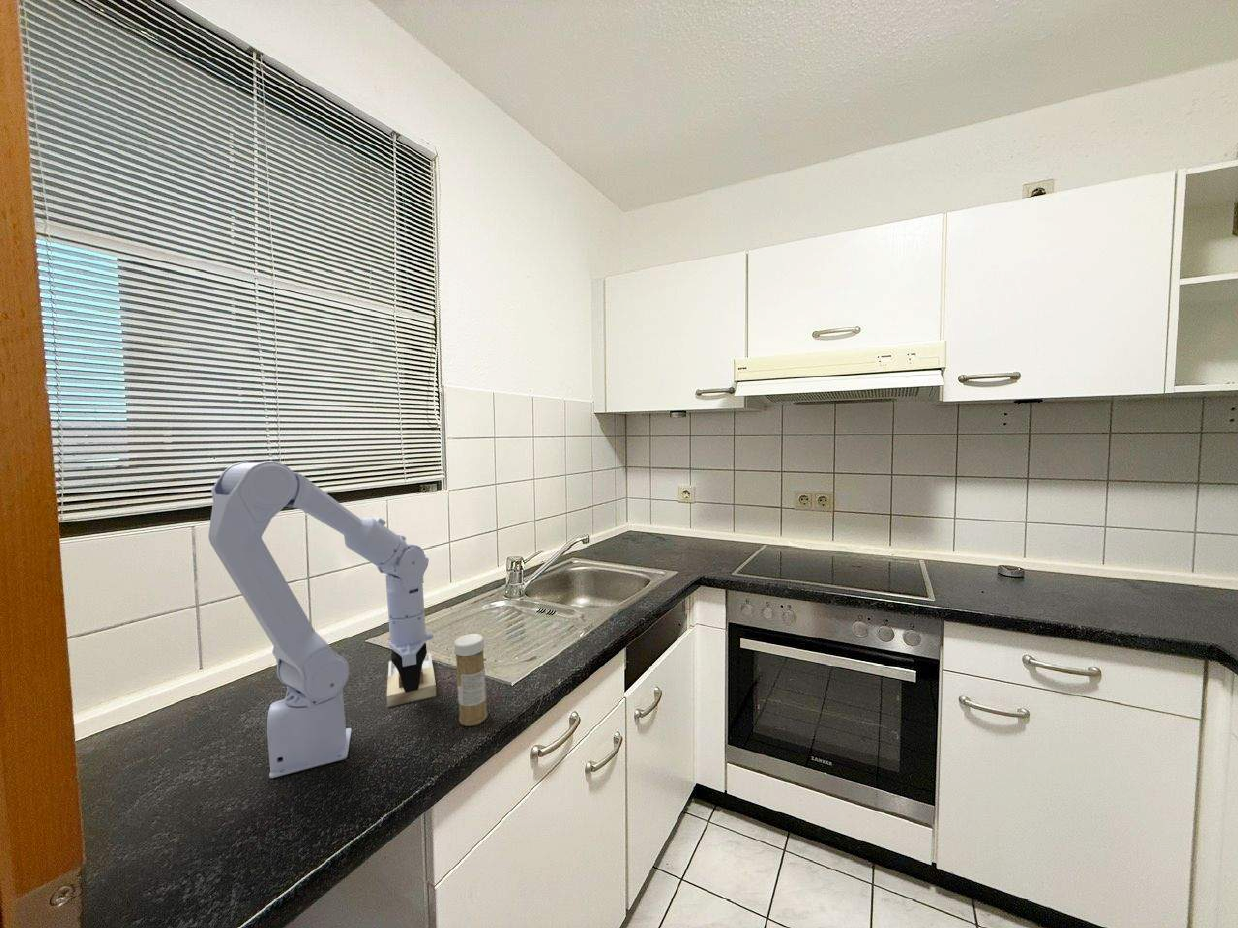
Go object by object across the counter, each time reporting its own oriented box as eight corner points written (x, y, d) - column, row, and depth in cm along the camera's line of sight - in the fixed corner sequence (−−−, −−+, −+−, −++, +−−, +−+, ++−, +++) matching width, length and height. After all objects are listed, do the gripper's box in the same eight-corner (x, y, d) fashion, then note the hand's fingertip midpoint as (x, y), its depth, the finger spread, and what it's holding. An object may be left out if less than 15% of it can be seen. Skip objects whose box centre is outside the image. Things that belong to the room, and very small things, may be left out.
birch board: (387, 707, 85) (386, 695, 85) (388, 686, 93) (387, 676, 93) (436, 695, 89) (435, 684, 88) (433, 676, 96) (433, 666, 96)
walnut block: (399, 687, 88) (398, 677, 88) (399, 678, 91) (398, 667, 91) (423, 682, 89) (422, 671, 89) (422, 673, 93) (421, 662, 93)
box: (388, 685, 93) (387, 678, 93) (389, 668, 100) (388, 661, 100) (433, 675, 96) (433, 668, 96) (431, 659, 103) (430, 652, 103)
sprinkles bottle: (462, 712, 83) (457, 634, 82) (490, 710, 83) (485, 631, 82) (456, 728, 78) (450, 645, 77) (485, 725, 78) (480, 643, 78)
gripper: (433, 622, 80) (439, 703, 81) (429, 597, 93) (433, 667, 94) (385, 630, 77) (391, 715, 78) (387, 603, 90) (392, 675, 91)
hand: (411, 689), depth 86 cm, fingers closed
